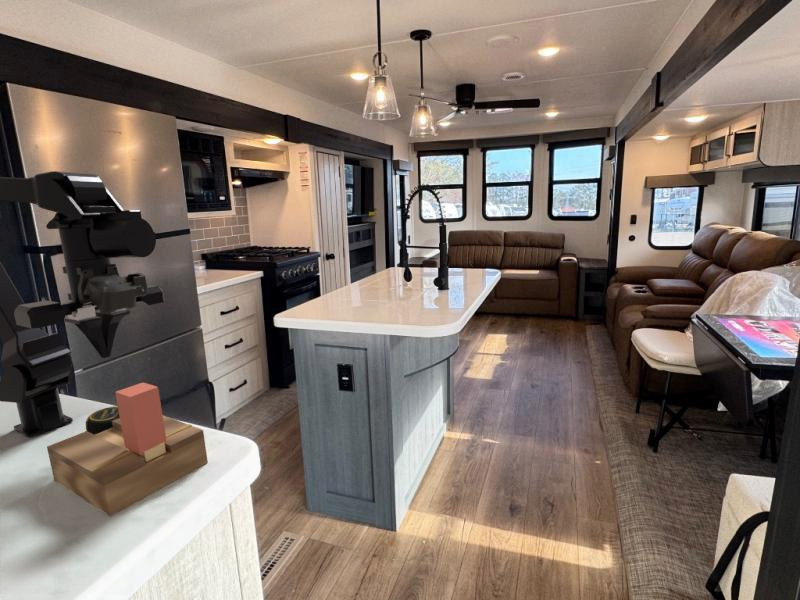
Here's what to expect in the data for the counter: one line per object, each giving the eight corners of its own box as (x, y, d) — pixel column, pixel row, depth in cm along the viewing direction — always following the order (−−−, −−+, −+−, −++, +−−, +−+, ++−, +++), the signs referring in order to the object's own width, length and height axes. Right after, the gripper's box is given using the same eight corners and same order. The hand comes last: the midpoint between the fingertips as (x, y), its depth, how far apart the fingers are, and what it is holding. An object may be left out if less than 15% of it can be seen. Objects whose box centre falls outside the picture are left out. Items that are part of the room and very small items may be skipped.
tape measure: (131, 440, 72) (127, 418, 71) (81, 448, 70) (77, 425, 69) (141, 421, 78) (138, 401, 77) (96, 428, 76) (92, 407, 75)
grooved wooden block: (54, 480, 61) (46, 445, 60) (149, 437, 72) (144, 407, 71) (110, 516, 53) (102, 477, 52) (207, 462, 64) (203, 429, 63)
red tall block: (125, 455, 59) (114, 391, 57) (152, 443, 62) (142, 381, 60) (142, 463, 57) (131, 397, 55) (169, 450, 60) (159, 387, 58)
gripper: (36, 268, 56) (60, 387, 59) (177, 252, 71) (190, 347, 75) (2, 266, 62) (25, 373, 65) (139, 251, 77) (153, 339, 81)
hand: (105, 357), depth 71 cm, fingers closed
